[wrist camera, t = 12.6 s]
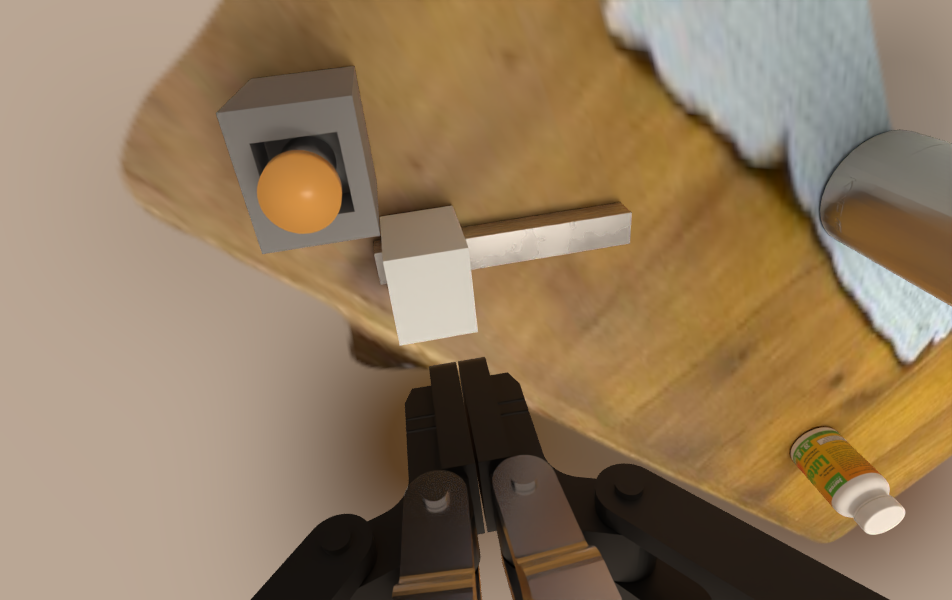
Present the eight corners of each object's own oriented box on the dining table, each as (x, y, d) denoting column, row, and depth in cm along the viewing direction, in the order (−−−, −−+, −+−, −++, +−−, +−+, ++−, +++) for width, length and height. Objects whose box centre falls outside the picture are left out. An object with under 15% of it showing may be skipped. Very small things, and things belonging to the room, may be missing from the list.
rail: (620, 202, 40) (631, 212, 39) (618, 232, 42) (629, 243, 40) (373, 241, 39) (373, 253, 37) (379, 271, 40) (380, 284, 38)
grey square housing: (354, 65, 33) (351, 95, 25) (376, 182, 36) (380, 238, 29) (250, 78, 32) (215, 113, 24) (284, 196, 36) (263, 257, 28)
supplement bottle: (796, 429, 57) (868, 506, 49) (843, 421, 58) (922, 496, 50) (783, 465, 60) (849, 544, 52) (827, 458, 61) (900, 534, 53)
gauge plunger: (336, 123, 28) (331, 150, 24) (350, 190, 30) (349, 227, 26) (263, 133, 28) (246, 162, 23) (283, 200, 30) (270, 239, 25)
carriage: (452, 205, 38) (468, 247, 32) (461, 281, 41) (477, 331, 35) (379, 216, 37) (382, 261, 32) (394, 292, 41) (399, 345, 35)
